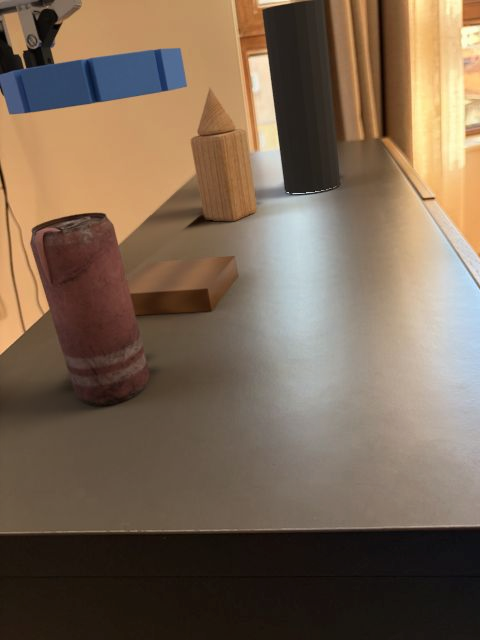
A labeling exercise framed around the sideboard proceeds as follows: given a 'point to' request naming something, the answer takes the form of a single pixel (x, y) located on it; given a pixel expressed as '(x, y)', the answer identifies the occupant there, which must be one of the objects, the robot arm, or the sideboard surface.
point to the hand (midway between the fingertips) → (34, 101)
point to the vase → (302, 95)
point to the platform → (181, 285)
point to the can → (91, 307)
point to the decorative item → (222, 165)
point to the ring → (93, 80)
